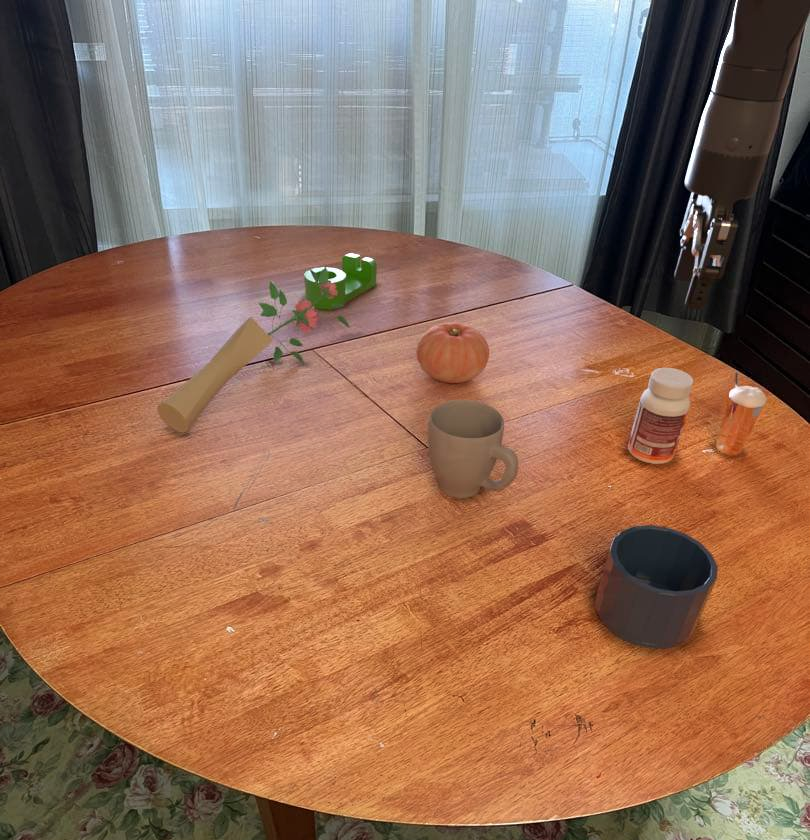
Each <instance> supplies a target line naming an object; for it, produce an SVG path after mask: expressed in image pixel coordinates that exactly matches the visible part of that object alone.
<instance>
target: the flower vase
mask: <svg viewBox="0 0 810 840" xmlns="http://www.w3.org/2000/svg"><path fill="white" fill-rule="evenodd" d="M324 267H325V268H324V269H323V270H322V271H321V273H320V276H319V279H318V276H317V274H316V273H315V272H314V271H312V270H310V269H309V270H310V271H311V273H312V276H313V278H314V280H315V282H316V285H317V283H318V281H319V282H320V283H321V285H319V286H320V288H319V289H320V291H321V293H322V294H323V295H322V296H321V297H320V294H319V299H318V300H317V301H316V302H315V303H314V304H313V305H311V302H309V301H306V299H303V300H301V299H299V300H298V302H297V303H295V304H294V306H295V308H293V309H291V310H290V311H291V312H292V313H293V317H292V318H290V319H288V320H287V321H285V322H283V323H282V324H280V325H279V326H278V327H276V328H274V320H275V317H276V316H277V317H278V318H279V319H278V320H281V314H282V309H283V307H285V306H286V305H287V304H288V299H287V297H286V295H285V293H284V292H283V291H282V290H281V289H279V290H278V288H277V286H276V285H275V284H274V282H273V281H272V280H269V287H268V288H269V294H270V298H271V299H273V300H274V301H273V302H274V305H275V306H274V305H271V304H269V303H266V302H258V305H259V306H260V308H261V309H262V312H261V314H259V316H260V317H265V318H271V317H273V318H272V322H271V323H272V324H271V328H272V330H271V331H270V332H269V333H267V332H266V331H265V330H264V329H263V328H262V326H261V325H260V324H258V322H257V321H256V320H255V319H254V318H253V317H252V316H250V317H248V318H247V319H246V320H245V321H244V323H242V324H241V325H240V326H239V327H238V328H236V330H235V331H234V332H233V333H232V335H231V336H230V337H229V338H228V340H226V341H225V343H224V344H223V345H222V347H221V348H220V349H218V351H217V352H216V354H215V355H213V357H212V359H211V360H209V362H208V363H207V364H206V365H205V366H203V367H202V368H201V369H200V370H198V371H197V372H196V373H195V374H194V375H193V376H192V377H190V378H189V379H188V380H187V381H186V382H184V383H183V384H182V385H181V386H180V387H178V388H177V389H176V390H175V391H174V392H173V393H171V394H170V395H168V396H167V397H165V399H163V400H162V401H160V402H159V403H158V404H157V407H156V411H157V413H158V414H159V417H160V419H161V420H162V421H163V422H164V423H165V424H166V426H168V427H169V428H171V429H173V430H174V431H176V432H179V433H183V434H184V433H186V432H188V431H189V430H190V428H191V427H192V426H193V425H194V423H195V422H196V421H197V420H198V418H199V417H200V416H201V414H202V413H203V411H204V410H205V409H206V407H208V405H209V404H210V403H211V401H212V400H213V399H214V398H215V396H216V395H217V394H218V393H219V392H220V391H221V390H222V388H223V387H225V385H226V384H227V383H228V382H229V381H230V380H231V379H232V378H233V377H234V376H235V375H236V374H238V373H239V372H240V371H241V370H243V368H244V367H245V366H247V365H248V364H249V363H250V362H251V361H252V360H254V359H255V358H256V357H257V356H258V355H259V354H260V353H261V352H262V351H263V350H265V349H266V348H267V347H269V345H271V344H272V342H274V340H273V338H274V339H276V340H277V341H278V342H279V343H280V344H279V347H278V346H275V349H274V352H273V363H274V362H276V361H279V360H280V359H281V358H282V357H283V354H284V352H283V351H282V350H281V348H280V347H281V345H282V346H283V348H284V349H285V350H286V351H287V352H288V353H290V355H292V356H293V357H294V358H295V359H297V360H298V361H299V362H300V363H301V364H303V365H305V362H304V358H303V357H302V355H301V354H300V353H299V352H298V351H296V350H294V351H289V350H288V349H287V348H286V347H285V346H284V344H283V343H286V341H285V340H282V341H281V340H279V339H278V338H276V337H275V336H274V335H273V334H274V333H276V332H277V331H279V330H281V328H283V327H285V326H287V325H288V324H291V323H293V322H294V321H295V323H294V325H295V327H298V328H299V331H302V330H303V334H305V333H312V329H311V328H313V329H316V328H317V326H318V316H319V314H318V312H321V313H324V314H326V315H329V316H332V317H334V318H337V320H338V321H339V322H340V323H342V324H343V325H344V326H345V327H347V328H349V329H351V327H350V325H349V322H348V320H347V319H346V318H345V317H344V316H343V315H342V314H339V315H337V316H336V315H332V314H329V313H328V312H331V310H334V309H339V308H342V307H345V306H346V305H345V304H344V305H343V304H333V305H332V309H328V310H321V309H318V308H314V307H313V306H314V305H315V304H316V303H317V302H318V301H319V300H320V299H321V298H322V297H323V296H324V298H325V297H329V299H331V298H334V297H333V296H332V295H336V296H337V293H338V291H337V290H335V288H337V287H336V285H335V284H334V282H333V283H331V281H330V280H328V271H327V268H326V267H327V266H324ZM317 288H318V286H317ZM319 289H318V290H319ZM277 299H278V301H279V304H280V305H281V306H282V307H281V308H280V312H279V310H278V306H277V304H276V301H277ZM310 327H311V328H310ZM272 337H273V338H272ZM282 342H283V343H282ZM288 343H289V344H290V345H292V346H294V347H299V348H300V347H303V346H304V344H303V343H302V342H301V341H300V340H299V339H296V337H295V338H294V337H290V338H289V341H288Z"/></svg>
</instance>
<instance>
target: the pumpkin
mask: <svg viewBox="0 0 810 840" xmlns="http://www.w3.org/2000/svg"><path fill="white" fill-rule="evenodd" d="M416 357H417V361H418V363H419V365H420V367H421V369H422V370H423V371H424V372H425V373H426V374H427V375H428V376H430V377H431V378H433V379H435V380H437V381H440V382H442V383H446V384H447V383H448V384H458V383H460V384H461V383H464V382H468V381H471V380H473V379H475V378H477V377H478V376H479V375H480V374H481V373H482V372H483V371H484V370H485V368H486V367H487V364H488V362H489V358H490V347H489V343H488V341H487V340H486V338H485V337H484V335H483V334H482V333H481V331H480V330H478V329H476V328H475V327H474V326H471V325H468V324H464V323H461V322H443V323H439V324H435V325H433V326H432V327H430V328H429V329H427V330H426V331H424V333H423V334H422V335H421V337H420V339H419V340H418V343H417V347H416Z"/></svg>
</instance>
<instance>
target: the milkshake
mask: <svg viewBox="0 0 810 840" xmlns="http://www.w3.org/2000/svg"><path fill="white" fill-rule="evenodd" d="M738 382H739V372H735V373H734V388H732V389H731V390H730V391H729V394H728V398H727V403H726V406H725V410H724V415H723V418H722V421H721V425H720V428H719V431H718V432H719V433H718V435H717V439H716V443H715V446H716V450H717V451H719V452H720V454H724V455H726V456H737V455H739V454H741V452H742V451H743V448H744V447H745V444H746V442H747V440H748V438H749V437H750V434H751V432H752V430H753V428H754V426H755V424H756V422H757V420H758V418H759V416H760V415H761V413H762V411H763V409H764V408H765V405H766V403H767V395H766V394H765V393H764V391H762V389H761V388H760V387H753V386H751V385H741V386H740V385H739V386H738V384H739V383H738Z"/></svg>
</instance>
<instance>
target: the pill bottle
mask: <svg viewBox="0 0 810 840" xmlns="http://www.w3.org/2000/svg"><path fill="white" fill-rule="evenodd" d="M693 385H694V379H693V377H692V376H691V375H690V374H689V373H687V372H686V371H683V370H681V369H678V368H674V367H658V368H656V369H654V370H653V371H652V372H651V375H650V377H649V380H648V383H647V388H646V389H645V390H643V392H642V394H641V396H640V399H639V402H638V407H637V410H636V414H635V417H634V421H633V424H632V428H631V432H630V435H629V439H628V443H627V450H628V452H629V454H630V455H631V456H632V457H633V458H635V459H636V460H638V461H641V462H644V463H647V464H654V465H661V464H667V463H669V462H670V461H672V460H673V458H674V457H675V454H676V451H677V448H678V446H679V442H680V440H681V437H682V434H683V430H684V427H685V425H686V421H687V417H688V415H689V412H690V409H691V399H690V398H689V396H690V394H691V392H692V387H693Z"/></svg>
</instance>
